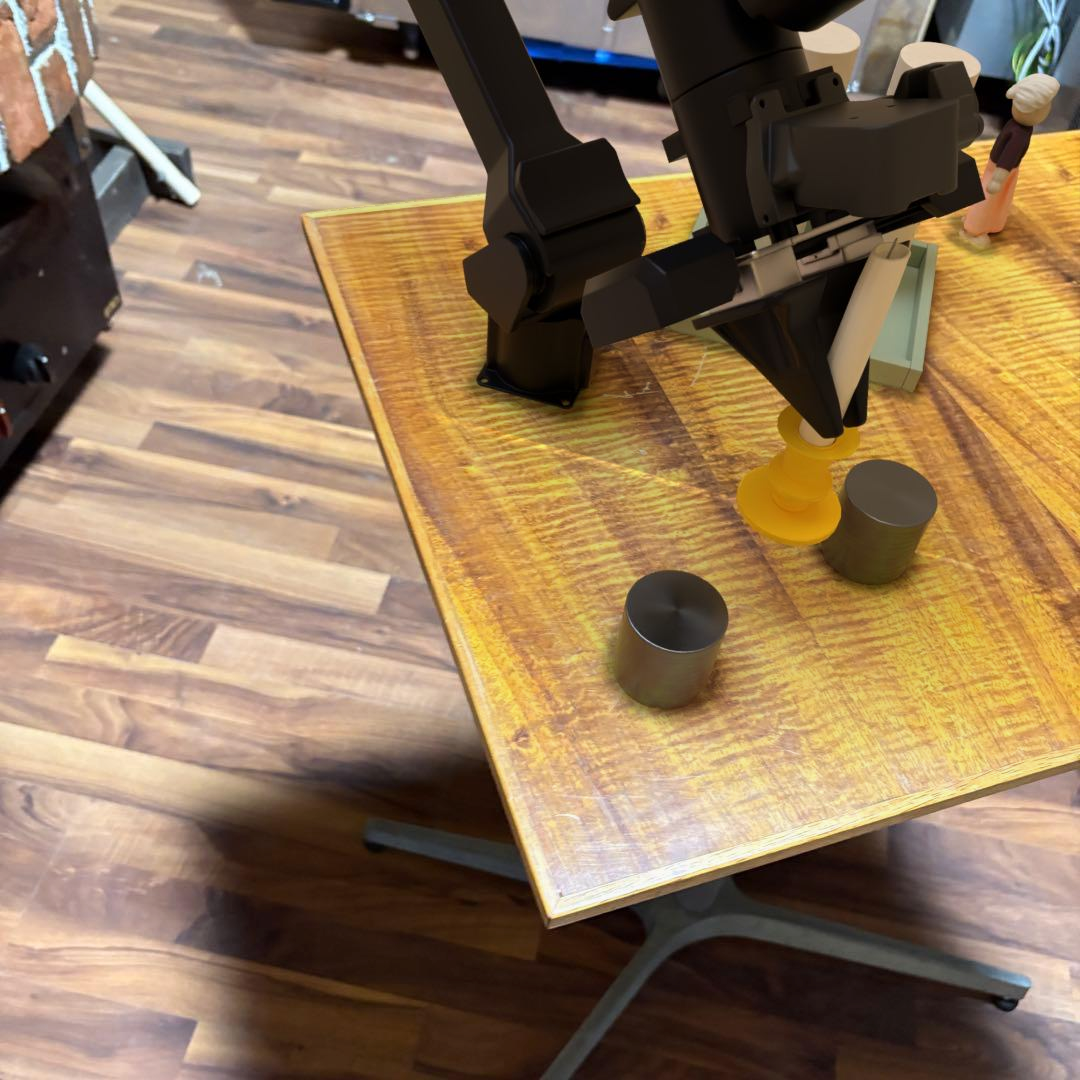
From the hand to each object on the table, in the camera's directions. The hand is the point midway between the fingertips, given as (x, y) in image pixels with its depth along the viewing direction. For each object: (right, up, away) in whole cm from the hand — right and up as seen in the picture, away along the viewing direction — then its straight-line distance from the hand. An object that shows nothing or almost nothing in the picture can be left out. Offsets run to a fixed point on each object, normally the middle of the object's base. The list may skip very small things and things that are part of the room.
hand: (844, 431), depth 46 cm
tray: (+5, +13, +29) cm, 32 cm away
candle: (-1, -3, +6) cm, 7 cm away
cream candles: (+7, +16, +31) cm, 35 cm away
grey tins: (-2, -8, +11) cm, 13 cm away
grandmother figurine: (+21, +20, +37) cm, 47 cm away
